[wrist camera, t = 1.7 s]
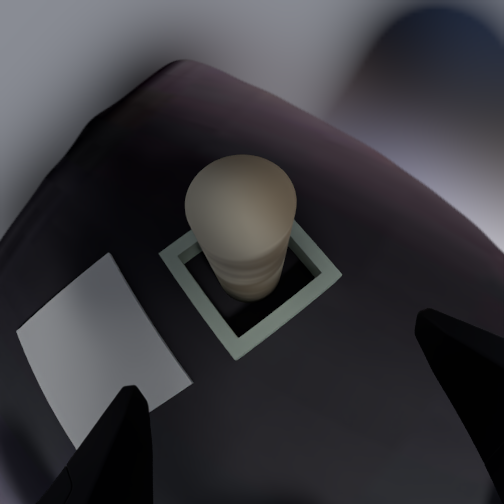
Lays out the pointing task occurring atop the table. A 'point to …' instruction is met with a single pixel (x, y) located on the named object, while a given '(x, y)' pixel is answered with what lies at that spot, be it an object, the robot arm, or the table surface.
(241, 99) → the table surface
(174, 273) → the green collar
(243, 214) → the ash peg
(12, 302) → the table surface
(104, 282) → the rubber mat
